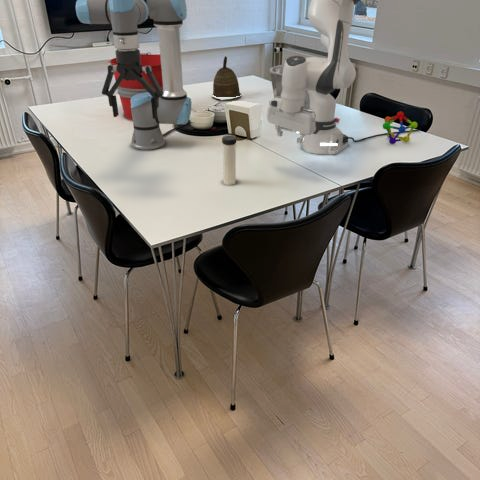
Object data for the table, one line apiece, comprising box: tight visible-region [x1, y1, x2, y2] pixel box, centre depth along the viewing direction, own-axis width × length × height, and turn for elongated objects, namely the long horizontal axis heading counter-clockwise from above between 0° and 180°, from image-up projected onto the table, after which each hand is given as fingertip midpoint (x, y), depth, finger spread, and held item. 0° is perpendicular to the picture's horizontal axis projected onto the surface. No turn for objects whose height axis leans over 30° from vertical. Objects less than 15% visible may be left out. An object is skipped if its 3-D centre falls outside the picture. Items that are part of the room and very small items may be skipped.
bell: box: [212, 56, 242, 97], centre depth 278 cm, size 19×26×20 cm
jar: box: [222, 143, 237, 186], centre depth 167 cm, size 5×5×18 cm
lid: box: [221, 135, 237, 145], centre depth 163 cm, size 5×5×2 cm
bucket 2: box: [269, 64, 310, 131], centre depth 226 cm, size 30×30×28 cm
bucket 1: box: [106, 51, 163, 121], centre depth 240 cm, size 35×35×30 cm
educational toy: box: [382, 110, 418, 145], centre depth 207 cm, size 16×13×15 cm
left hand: (135, 116), depth 150 cm, fingers open, 13 cm apart
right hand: (289, 139), depth 171 cm, fingers open, 8 cm apart
